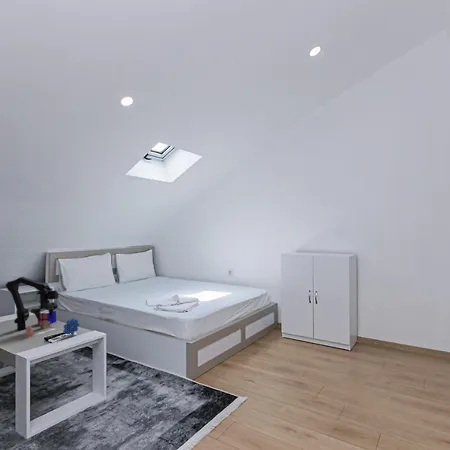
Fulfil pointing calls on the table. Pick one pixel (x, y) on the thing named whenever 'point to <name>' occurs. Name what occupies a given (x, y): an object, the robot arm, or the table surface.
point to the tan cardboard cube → (45, 324)
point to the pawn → (29, 331)
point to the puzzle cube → (47, 317)
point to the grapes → (71, 326)
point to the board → (42, 332)
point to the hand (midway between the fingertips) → (44, 319)
